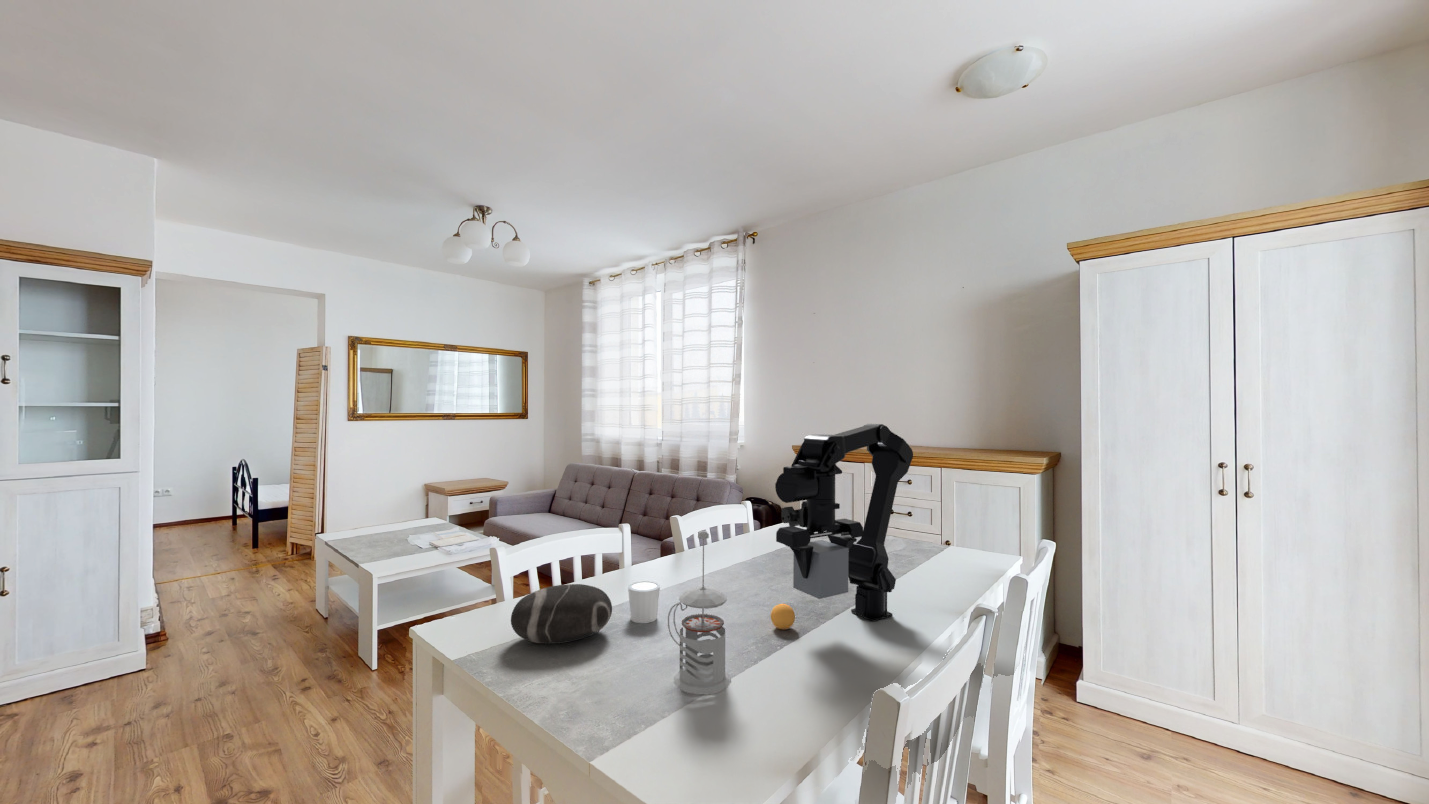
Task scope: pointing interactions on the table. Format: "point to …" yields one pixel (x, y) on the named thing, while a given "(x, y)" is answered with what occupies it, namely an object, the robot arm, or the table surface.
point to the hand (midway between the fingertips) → (820, 574)
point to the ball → (782, 616)
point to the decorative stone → (561, 613)
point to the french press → (701, 641)
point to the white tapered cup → (643, 601)
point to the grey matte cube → (824, 571)
